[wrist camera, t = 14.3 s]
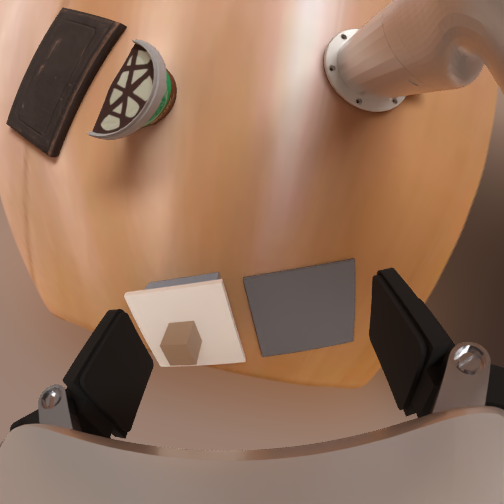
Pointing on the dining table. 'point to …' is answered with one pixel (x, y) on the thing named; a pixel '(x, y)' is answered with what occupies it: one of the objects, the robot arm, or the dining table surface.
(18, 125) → the hardcover book
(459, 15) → the robot arm
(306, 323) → the mat
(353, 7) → the dining table surface
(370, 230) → the dining table surface
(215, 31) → the dining table surface
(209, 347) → the lid
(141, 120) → the food container
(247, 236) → the dining table surface
